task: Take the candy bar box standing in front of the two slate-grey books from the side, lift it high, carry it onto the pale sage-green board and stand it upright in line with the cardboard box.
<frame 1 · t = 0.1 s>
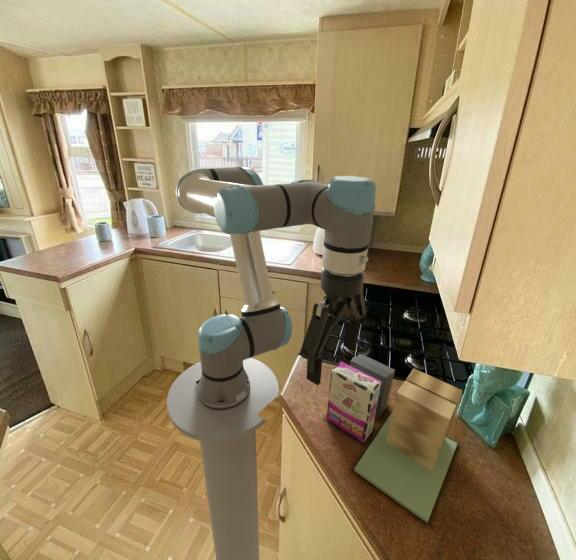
hand: (332, 363, 64), 25 cm above the worktop, tool pointing down, fingers open, 13 cm apart
sage board: (407, 457, 73), on the worktop
grey books: (365, 403, 87), on the worktop
candy bar box: (348, 425, 81), on the worktop
cardboard box: (415, 440, 76), resting on sage board
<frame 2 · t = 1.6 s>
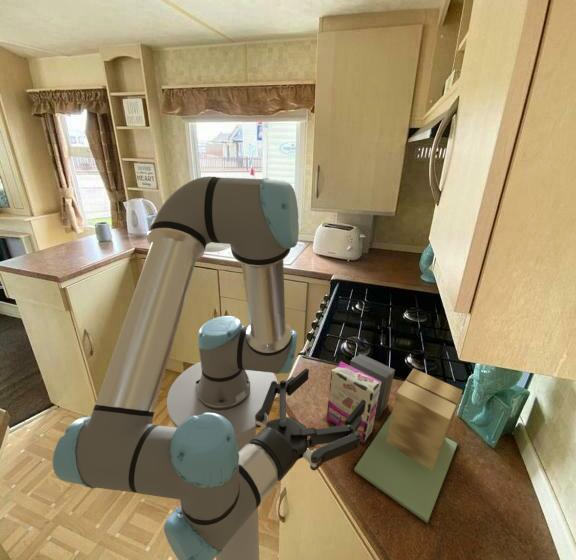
hand: (333, 388, 65), 20 cm above the worktop, tool horizontal, fingers open, 13 cm apart
nothing on the worktop moved.
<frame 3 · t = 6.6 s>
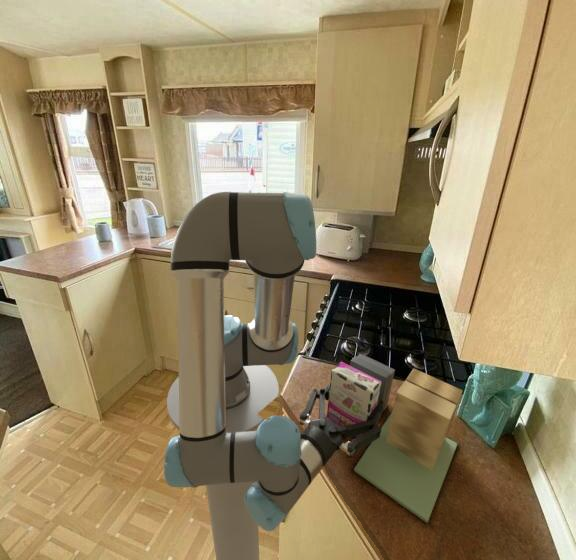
hand: (359, 392, 80), 8 cm above the worktop, tool horizontal, fingers closed on candy bar box, 11 cm apart
candy bar box: (348, 425, 81), on the worktop, touching gripper
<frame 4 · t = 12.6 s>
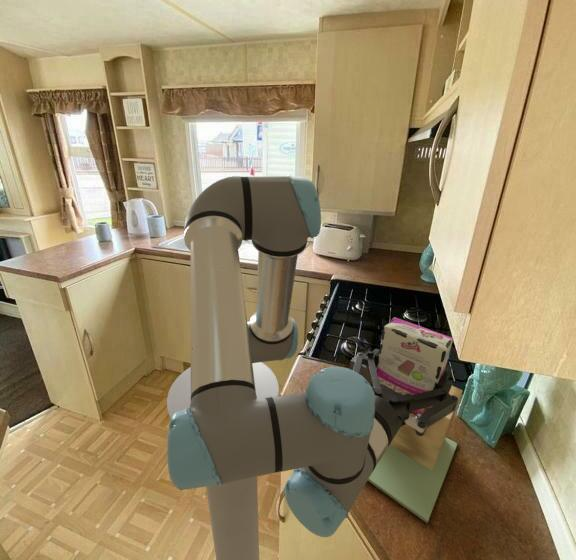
hand: (417, 358, 63), 28 cm above the worktop, tool horizontal, fingers closed on candy bar box, 11 cm apart
candy bar box: (402, 400, 63), point 19 cm above the worktop, touching gripper
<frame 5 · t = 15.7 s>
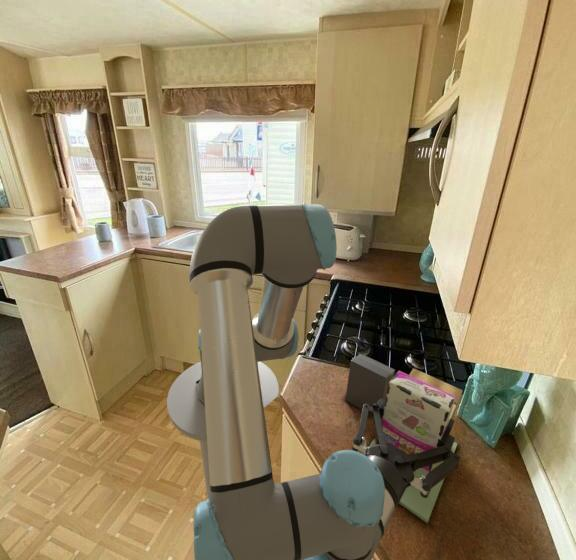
hand: (420, 408, 65), 17 cm above the worktop, tool horizontal, fingers closed on candy bar box, 11 cm apart
candy bar box: (406, 448, 66), point 8 cm above the worktop, touching gripper
when the fingers open (9 cm above the worktop, at t = 18.5 s): candy bar box stays where it is, resting on sage board.
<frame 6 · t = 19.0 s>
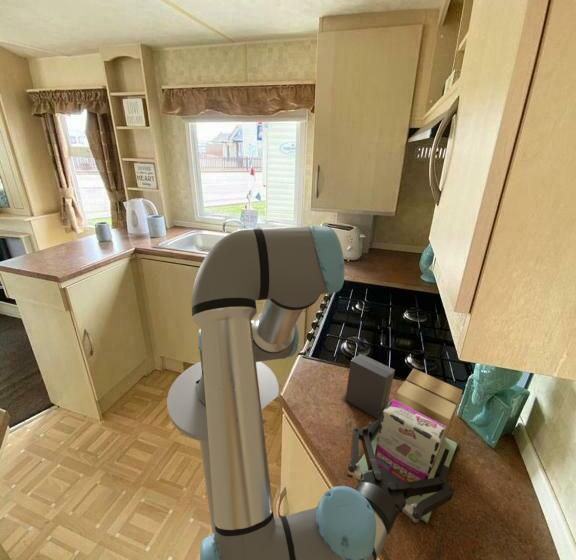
hand: (412, 434, 68), 9 cm above the worktop, tool horizontal, fingers open, 13 cm apart
candy bar box: (399, 472, 69), point 1 cm above the worktop, touching sage board
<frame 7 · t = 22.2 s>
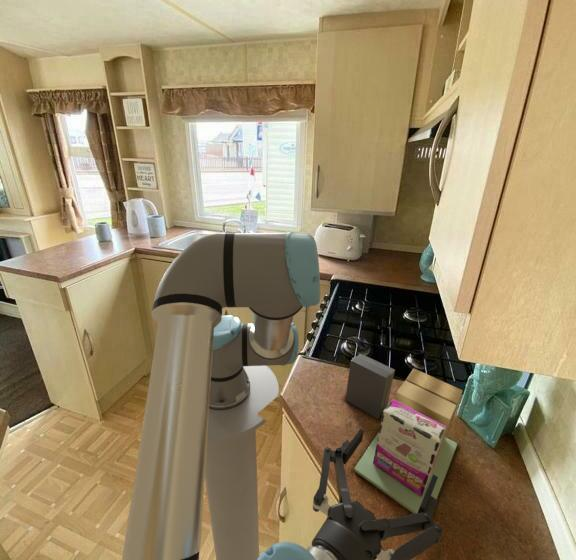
hand: (395, 455, 57), 15 cm above the worktop, tool horizontal, fingers open, 13 cm apart
nothing on the worktop moved.
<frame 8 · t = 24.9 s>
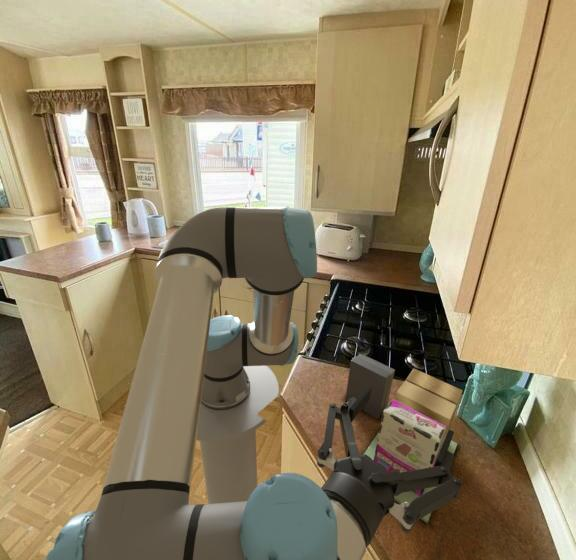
hand: (406, 413, 52), 26 cm above the worktop, tool horizontal, fingers open, 13 cm apart
nothing on the worktop moved.
at the end: candy bar box inside the target area (0.0 cm from its centre), point 0.6 cm above the worktop; candy bar box tilted 0°; candy bar box 10.0 cm from the cardboard box (horizontally) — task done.
